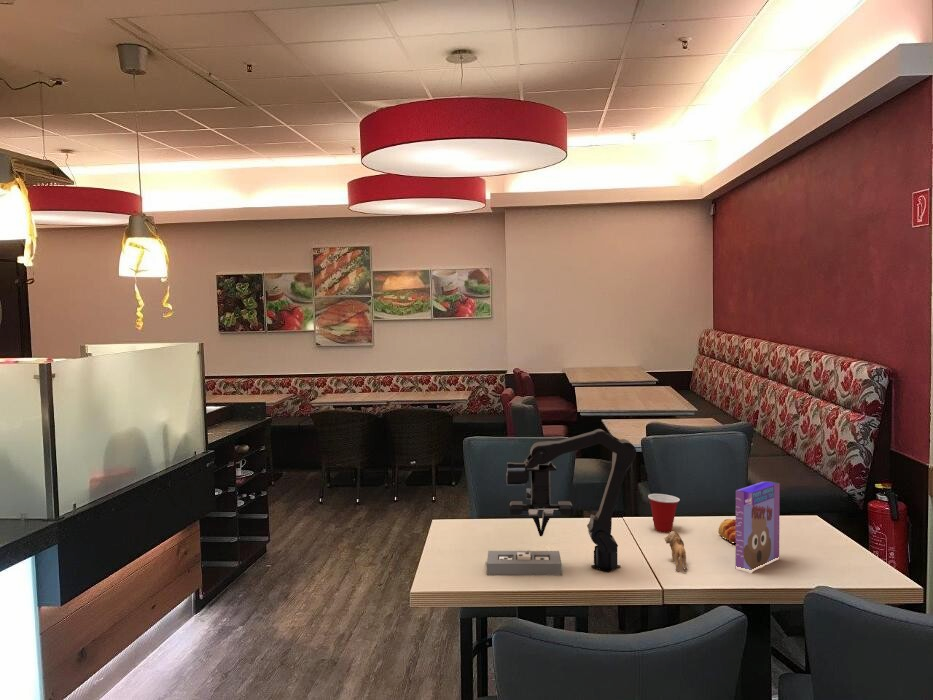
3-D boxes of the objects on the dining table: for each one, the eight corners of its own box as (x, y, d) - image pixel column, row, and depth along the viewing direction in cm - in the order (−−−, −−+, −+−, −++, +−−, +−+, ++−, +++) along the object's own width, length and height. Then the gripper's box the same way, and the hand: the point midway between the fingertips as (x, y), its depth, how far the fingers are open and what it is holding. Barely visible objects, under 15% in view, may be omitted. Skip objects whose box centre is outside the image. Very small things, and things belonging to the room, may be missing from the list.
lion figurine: (662, 558, 239) (662, 529, 238) (679, 557, 239) (679, 529, 239) (677, 574, 224) (677, 544, 224) (695, 573, 224) (695, 543, 224)
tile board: (559, 561, 237) (559, 550, 237) (561, 575, 225) (561, 563, 225) (488, 561, 238) (488, 550, 238) (487, 574, 227) (486, 563, 226)
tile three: (512, 562, 234) (512, 556, 234) (512, 566, 230) (512, 560, 230) (499, 562, 234) (499, 555, 234) (499, 566, 230) (499, 560, 230)
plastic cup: (683, 534, 263) (683, 500, 262) (651, 535, 263) (651, 500, 262) (675, 525, 273) (675, 492, 273) (645, 526, 274) (645, 492, 273)
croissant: (721, 538, 270) (710, 517, 270) (748, 525, 268) (736, 505, 268) (730, 556, 249) (718, 534, 249) (758, 543, 247) (746, 520, 247)
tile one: (548, 562, 233) (548, 556, 233) (549, 567, 229) (549, 560, 229) (535, 562, 234) (535, 556, 233) (535, 567, 230) (535, 560, 229)
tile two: (530, 558, 234) (530, 551, 233) (530, 562, 230) (530, 556, 229) (517, 558, 234) (517, 551, 234) (517, 562, 230) (517, 555, 230)
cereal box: (750, 573, 224) (750, 492, 223) (735, 569, 228) (735, 489, 226) (779, 559, 236) (779, 482, 234) (764, 556, 239) (764, 480, 238)
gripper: (569, 478, 237) (570, 528, 238) (509, 478, 239) (510, 528, 240) (572, 487, 226) (572, 539, 227) (509, 487, 228) (510, 538, 228)
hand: (541, 535), depth 231 cm, fingers closed
